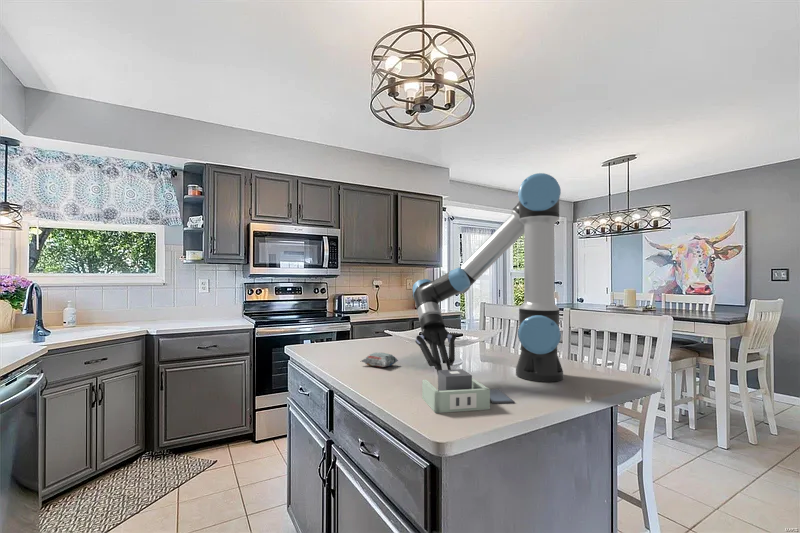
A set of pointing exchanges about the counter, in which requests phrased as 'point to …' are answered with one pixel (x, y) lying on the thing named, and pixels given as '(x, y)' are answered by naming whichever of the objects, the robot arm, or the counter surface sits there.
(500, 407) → the counter surface
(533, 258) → the robot arm
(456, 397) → the outlet bay
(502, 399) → the phone
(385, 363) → the packaged food
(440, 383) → the block
